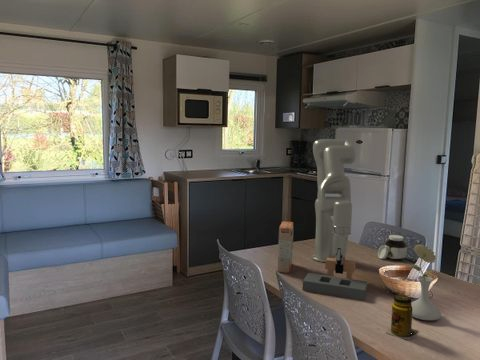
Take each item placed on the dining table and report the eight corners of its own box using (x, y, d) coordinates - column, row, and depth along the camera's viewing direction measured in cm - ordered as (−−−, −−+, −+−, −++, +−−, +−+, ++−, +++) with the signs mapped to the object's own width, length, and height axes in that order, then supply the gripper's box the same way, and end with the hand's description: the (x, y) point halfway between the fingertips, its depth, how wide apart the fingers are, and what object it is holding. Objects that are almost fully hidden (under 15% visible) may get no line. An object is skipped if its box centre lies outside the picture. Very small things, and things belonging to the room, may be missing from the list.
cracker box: (290, 273, 186) (291, 228, 183) (277, 272, 187) (278, 227, 184) (292, 263, 199) (294, 221, 197) (280, 262, 200) (281, 220, 198)
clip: (326, 277, 182) (327, 257, 181) (354, 281, 177) (355, 261, 176) (324, 280, 178) (325, 260, 177) (353, 284, 173) (354, 263, 172)
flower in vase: (448, 322, 140) (453, 251, 137) (417, 324, 138) (422, 252, 135) (425, 306, 153) (429, 240, 150) (396, 308, 151) (400, 241, 148)
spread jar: (408, 260, 207) (409, 237, 206) (394, 264, 201) (395, 240, 199) (387, 254, 217) (389, 232, 216) (374, 257, 211) (375, 235, 209)
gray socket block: (308, 281, 176) (308, 272, 175) (366, 290, 167) (367, 281, 166) (302, 290, 167) (302, 280, 166) (364, 300, 157) (364, 290, 157)
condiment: (386, 333, 132) (388, 297, 131) (395, 324, 138) (397, 289, 137) (409, 341, 127) (411, 304, 126) (418, 331, 134) (420, 295, 132)
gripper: (336, 224, 184) (334, 264, 186) (329, 233, 169) (327, 276, 171) (353, 226, 181) (351, 266, 183) (348, 235, 166) (346, 279, 168)
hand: (340, 271), depth 177 cm, fingers closed on clip, 4 cm apart
